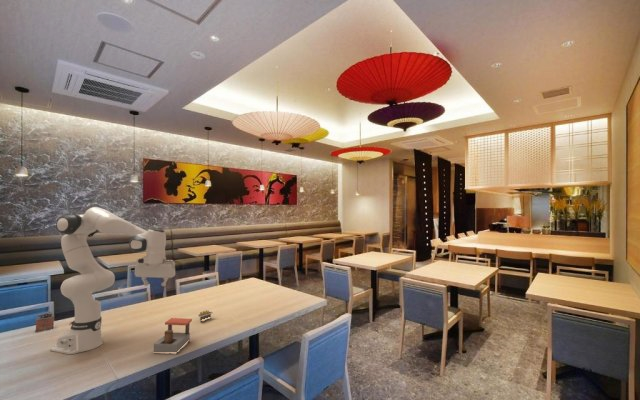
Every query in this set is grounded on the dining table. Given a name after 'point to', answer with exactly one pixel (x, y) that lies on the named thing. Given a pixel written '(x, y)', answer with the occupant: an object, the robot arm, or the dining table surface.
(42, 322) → the brick wall piece
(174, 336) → the socket stand
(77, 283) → the robot arm
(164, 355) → the dining table surface
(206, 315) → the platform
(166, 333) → the walnut peg
